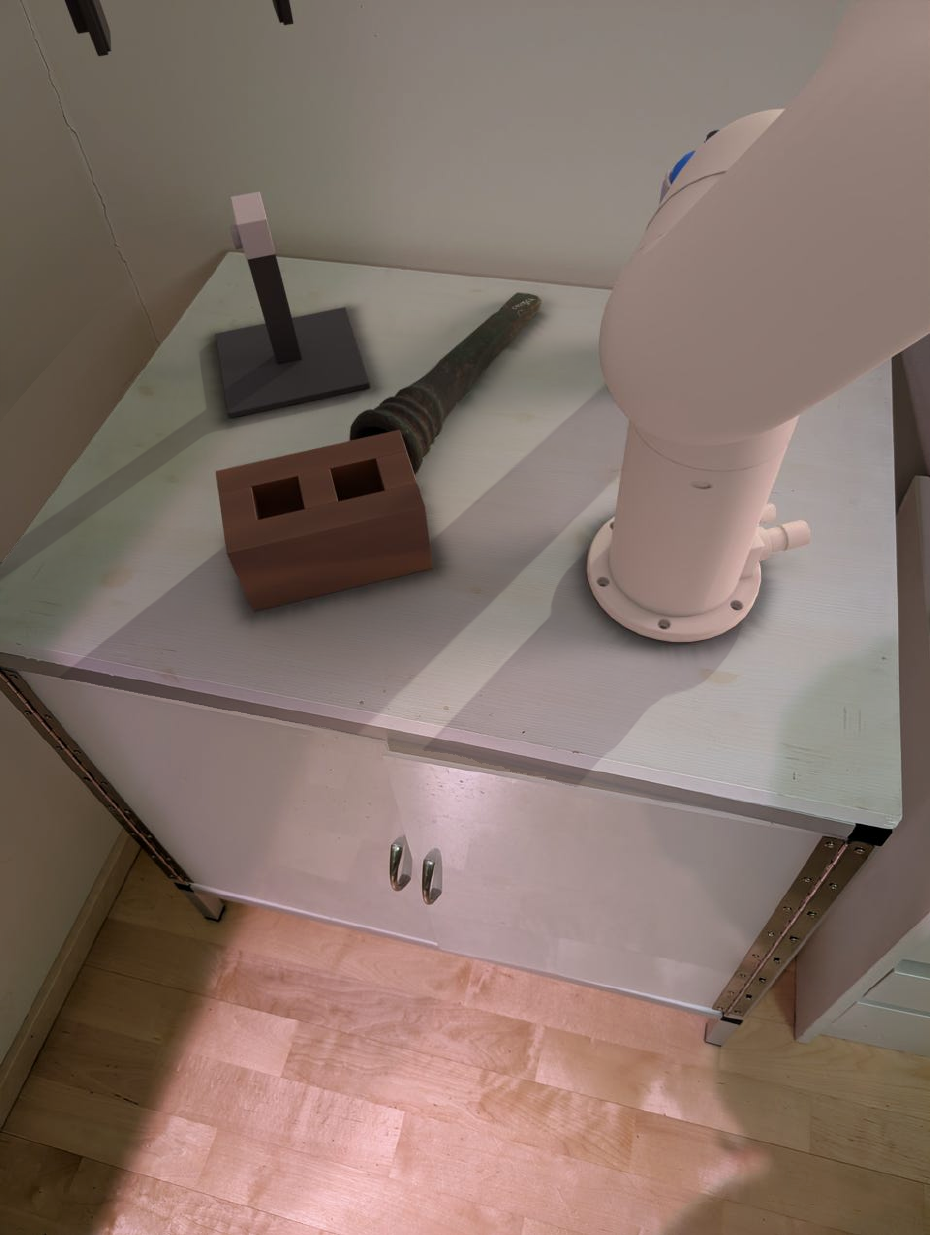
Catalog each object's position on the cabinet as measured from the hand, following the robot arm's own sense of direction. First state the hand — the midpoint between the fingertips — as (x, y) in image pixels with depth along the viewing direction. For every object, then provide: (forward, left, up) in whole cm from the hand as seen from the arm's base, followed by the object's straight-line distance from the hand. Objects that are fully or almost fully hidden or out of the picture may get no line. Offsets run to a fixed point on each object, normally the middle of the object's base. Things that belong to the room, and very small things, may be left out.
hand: (195, 30), depth 45 cm
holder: (0, +10, -32) cm, 34 cm away
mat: (0, -14, -32) cm, 35 cm away
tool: (-14, -6, -32) cm, 36 cm away
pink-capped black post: (0, -14, -32) cm, 35 cm away
